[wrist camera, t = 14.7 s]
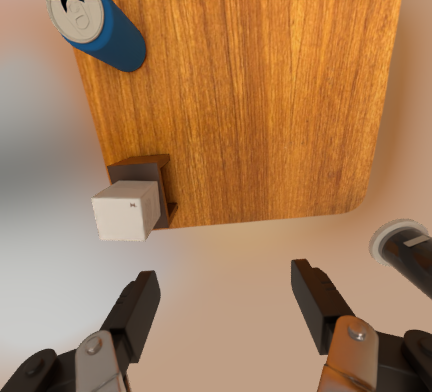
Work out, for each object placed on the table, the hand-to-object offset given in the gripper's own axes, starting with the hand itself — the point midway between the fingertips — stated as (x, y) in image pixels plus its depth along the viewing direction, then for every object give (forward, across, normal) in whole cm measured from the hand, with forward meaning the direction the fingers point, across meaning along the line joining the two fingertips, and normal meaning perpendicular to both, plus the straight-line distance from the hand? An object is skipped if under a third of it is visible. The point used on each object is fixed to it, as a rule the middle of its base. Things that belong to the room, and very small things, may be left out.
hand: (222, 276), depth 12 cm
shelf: (+28, +13, +1) cm, 31 cm away
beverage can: (+28, +13, -21) cm, 37 cm away
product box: (+20, +13, +1) cm, 24 cm away
